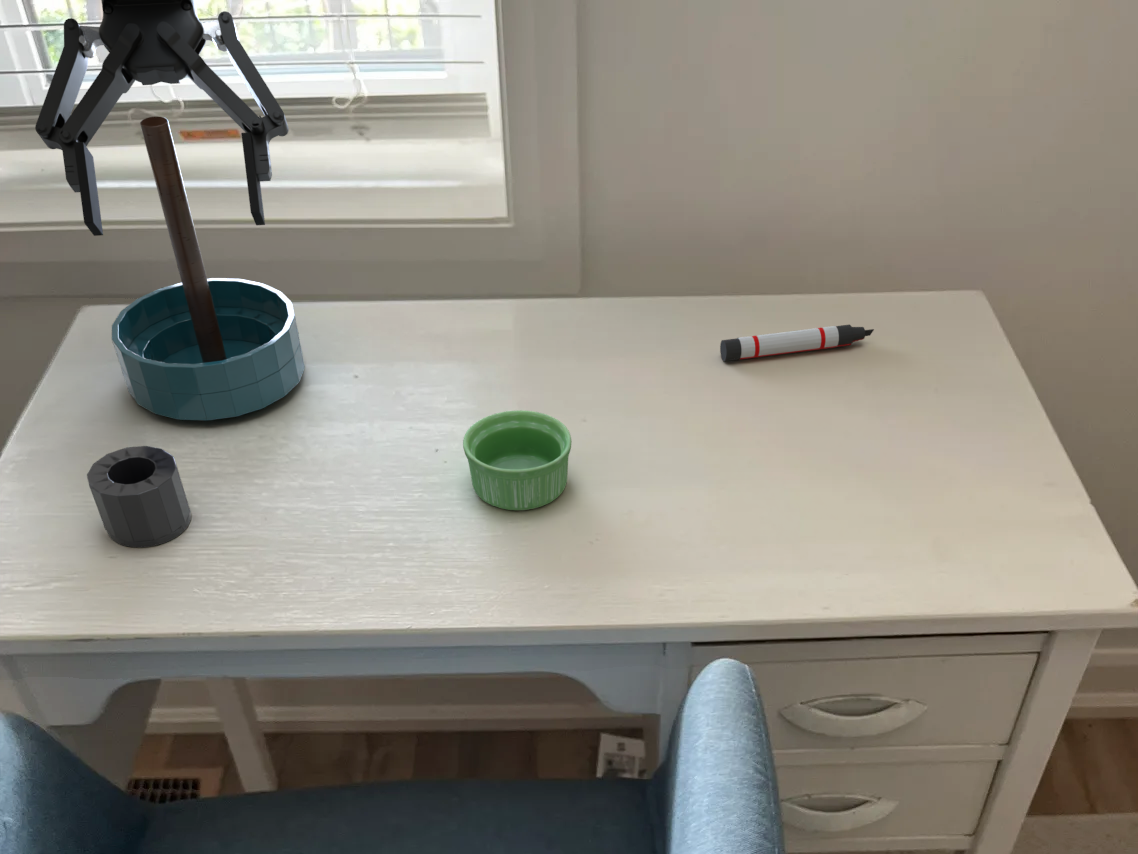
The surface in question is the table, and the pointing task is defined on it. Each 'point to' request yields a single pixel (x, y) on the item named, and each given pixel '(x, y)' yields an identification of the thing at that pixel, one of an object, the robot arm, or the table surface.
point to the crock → (139, 496)
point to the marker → (791, 342)
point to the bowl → (174, 364)
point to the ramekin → (518, 459)
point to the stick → (183, 236)
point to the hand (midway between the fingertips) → (176, 224)
